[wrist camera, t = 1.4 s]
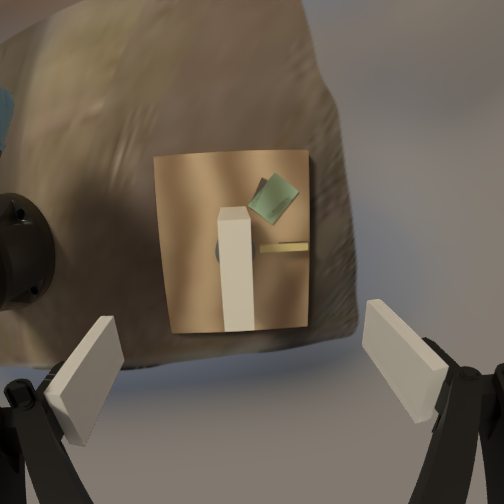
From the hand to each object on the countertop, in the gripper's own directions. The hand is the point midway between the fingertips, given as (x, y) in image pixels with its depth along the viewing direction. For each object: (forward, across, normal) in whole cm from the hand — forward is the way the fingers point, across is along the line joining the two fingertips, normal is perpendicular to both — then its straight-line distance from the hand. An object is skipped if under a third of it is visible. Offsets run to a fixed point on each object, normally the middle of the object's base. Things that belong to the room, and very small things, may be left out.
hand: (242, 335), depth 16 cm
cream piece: (+19, +3, 0) cm, 19 cm away
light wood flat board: (+20, 0, 0) cm, 20 cm away
